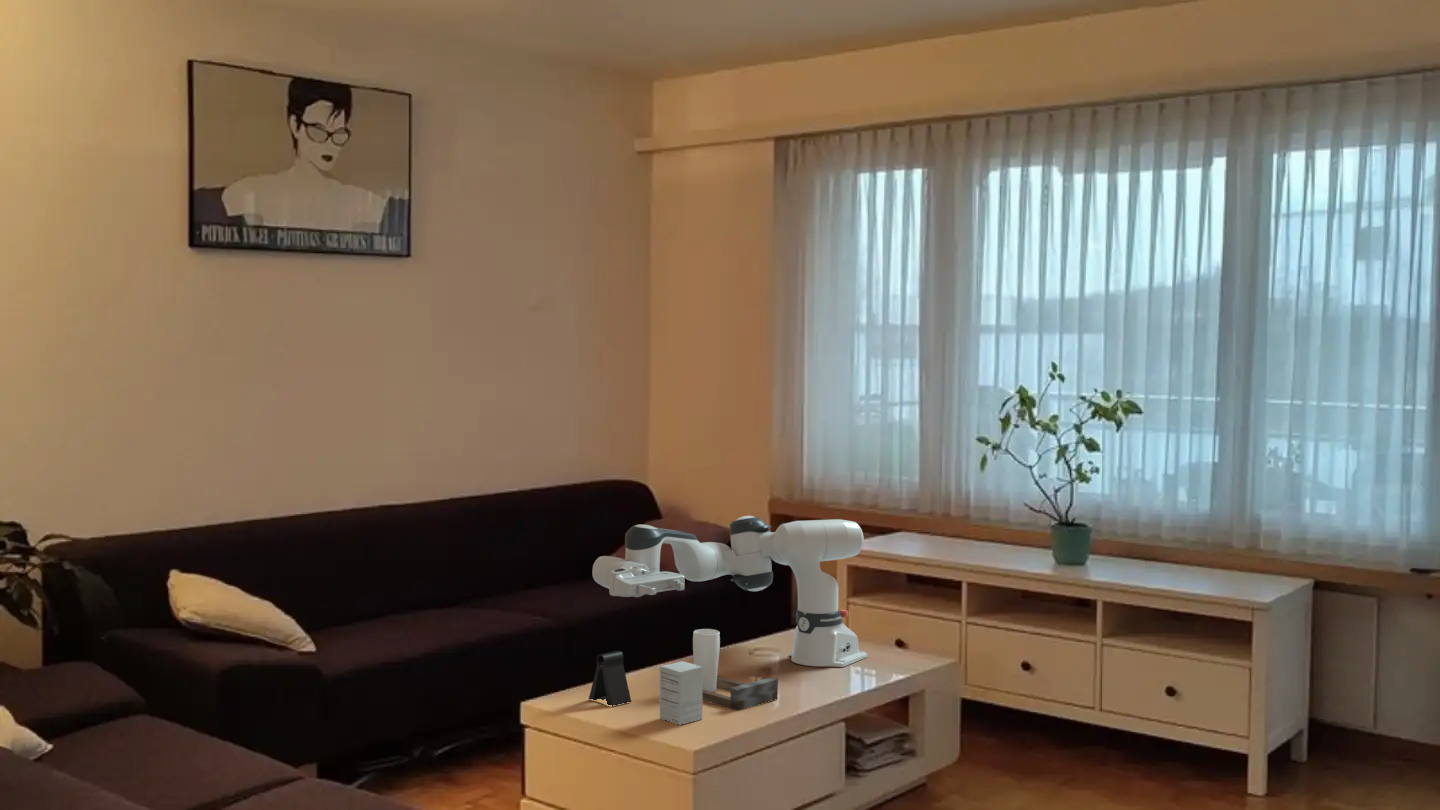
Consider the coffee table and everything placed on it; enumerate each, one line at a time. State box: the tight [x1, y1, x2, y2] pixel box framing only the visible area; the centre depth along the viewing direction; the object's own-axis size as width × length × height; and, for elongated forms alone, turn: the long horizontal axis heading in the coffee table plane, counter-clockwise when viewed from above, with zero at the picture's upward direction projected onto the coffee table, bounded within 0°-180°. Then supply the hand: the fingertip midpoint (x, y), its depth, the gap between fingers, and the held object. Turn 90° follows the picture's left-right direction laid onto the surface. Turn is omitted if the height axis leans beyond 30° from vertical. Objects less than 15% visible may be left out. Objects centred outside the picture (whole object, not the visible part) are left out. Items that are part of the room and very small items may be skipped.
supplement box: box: [659, 660, 703, 726], centre depth 316 cm, size 7×7×13 cm
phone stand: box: [588, 650, 632, 706], centre depth 330 cm, size 9×6×12 cm, turn 44°
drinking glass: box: [692, 628, 721, 693], centre depth 341 cm, size 7×7×15 cm
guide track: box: [702, 675, 779, 711], centre depth 336 cm, size 14×22×5 cm, turn 45°
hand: (668, 589), depth 351 cm, fingers open, 8 cm apart
